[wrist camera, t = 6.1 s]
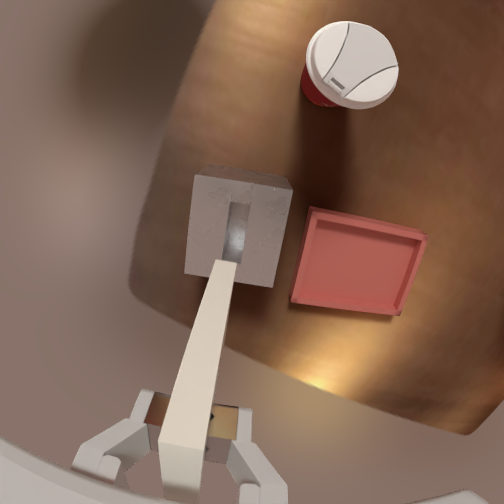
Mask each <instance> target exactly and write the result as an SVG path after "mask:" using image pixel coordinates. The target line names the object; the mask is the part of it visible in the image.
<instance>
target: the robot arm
mask: <svg viewBox="0 0 504 504" xmlns="http://www.w3.org/2000/svg"><path fill="white" fill-rule="evenodd" d="M170 399H171V395H167V394H163V393H158V392H154V391H150V390H147V389H142V390H141V392H140V394H139V396H138V399H137V401H136V403H135V406H134V409H133V411H132V413H131V416H130V418H129V419H124V420H122V421H120V422H119V423H117V424H115V425H114V426H112V427H110V428H109V429H107V430H105V431H104V432H102V433H100V434H99V435H97V436H95V437H93V438H92V439H90V440H88V441H87V442H85V443H83V444H81V446H80V448H79V450H78V453H77V455H76V457H75V459H74V461H73V464H72V466H71V468H70V469H68V468H65V467H63V466H61V465H58V464H56V463H54V462H52V461H49V460H47V459H45V458H43V457H41V456H39V455H37V454H35V453H33V452H31V451H29V450H27V449H25V448H23V447H21V446H19V445H17V444H16V443H14V442H12V441H10V440H8V439H6V438H5V437H3V436H1V435H0V504H185V503H180V502H175V501H171V500H166V499H161V498H157V497H153V496H149V495H145V494H141V493H137V492H134V491H130V490H129V485H128V482H127V479H126V476H125V473H124V472H125V471H127V470H128V469H129V468H130V467H131V466H133V465H134V464H135V463H137V462H138V461H139V460H140V459H141V458H143V457H144V456H145V455H146V454H147V453H148V452H150V450H154V451H158V452H159V447H158V439H159V435H160V432H161V429H162V425H163V422H164V419H165V415H166V412H167V409H168V405H169V402H170ZM252 414H253V411H252V409H249V408H241V407H239V408H238V407H235V406H228V405H221V404H214V403H213V405H212V411H211V418H210V423H209V429H208V435H207V443H206V451H205V459H204V460H205V461H210V462H216V463H222V464H226V466H227V468H228V470H229V472H230V473H231V475H232V477H233V479H234V480H235V482H236V484H237V486H238V488H239V491H238V494H237V497H236V499H235V502H234V504H288V493H287V485H286V483H285V482H284V481H283V479H282V478H281V477H280V476H279V474H278V473H277V472H276V470H275V469H274V468H273V466H272V465H271V464H270V463H269V461H268V460H267V458H266V457H265V456H264V455H263V453H262V452H261V450H260V449H259V448H258V447H257V445H256V444H255V443H251V439H252ZM405 504H489V503H488V502H487V501H485V500H484V499H483V498H481V497H480V496H478V495H477V494H475V493H474V492H472V491H470V490H468V489H462V490H458V491H454V492H451V493H447V494H444V495H441V496H436V497H432V498H428V499H424V500H419V501H415V502H410V503H405Z"/></svg>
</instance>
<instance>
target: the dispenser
mask: <svg viewBox="0 0 504 504" xmlns="http://www.w3.org/2000/svg"><path fill="white" fill-rule="evenodd" d="M292 193H293V190H292V188H291V186H290V184H289V182H288V180H287V178H286V176H281V175H275V174H269V173H264V172H258V171H252V170H246V169H239V168H233V167H226V166H220V165H213V164H209V165H208V166H207V167H205V168H204V169H202V170H201V171H199V172H198V173H196V174H195V178H194V185H193V194H192V202H191V211H190V220H189V229H188V239H187V250H186V261H185V272H184V273H186V274H192V275H198V276H203V277H209V278H210V275H211V272H212V269H213V266H214V263H215V260H222V261H228V262H234V263H237V265H236V271H235V278H234V282H239V283H246V284H252V285H258V286H264V287H271V288H273V283H274V279H275V274H276V270H277V265H278V260H279V256H280V251H281V246H282V241H283V237H284V232H285V227H286V222H287V217H288V212H289V207H290V203H291V198H292Z"/></svg>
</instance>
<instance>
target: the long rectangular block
mask: <svg viewBox="0 0 504 504" xmlns="http://www.w3.org/2000/svg"><path fill="white" fill-rule="evenodd" d="M236 265H237V263H234V262H228V261H222V260H215V263H214V266H213V269H212V272H211V275H210V278H209V281H208V284H207V287H206V290H205V293H204V295H203V298H202V301H201V304H200V308H199V311H198V314H197V317H196V320H195V323H194V326H193V329H192V332H191V335H190V338H189V341H188V344H187V347H186V351H185V354H184V357H183V360H182V363H181V367H180V370H179V373H178V376H177V379H176V382H175V386H174V389H173V392H172V395H171V399H170V402H169V405H168V409H167V412H166V415H165V419H164V422H163V425H162V429H161V432H160V435H159V439H158V447H159V457H160V466H161V475H162V482H163V490H164V498H165V499H166V500H171V501H175V502H180V503H185V504H198V502H199V495H200V489H201V482H202V475H203V469H204V463H205V460H204V459H205V451H206V443H207V435H208V429H209V423H210V418H211V411H212V405H213V403H214V400H215V395H216V389H217V382H218V377H219V371H220V365H221V359H222V352H223V347H224V341H225V335H226V329H227V322H228V316H229V309H230V303H231V297H232V290H233V284H234V278H235V271H236Z"/></svg>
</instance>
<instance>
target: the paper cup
mask: <svg viewBox="0 0 504 504" xmlns="http://www.w3.org/2000/svg"><path fill="white" fill-rule="evenodd" d="M397 77H398V64H397V60H396V57H395V54H394V51H393V49H392V47H391V45H390V43H389V41H388V40H387V39H386V38H385V37H384V36H383V35H382V34H381V33H380V32H379V31H377V30H376V29H374V28H372V27H370V26H367V25H363V24H359V23H355V22H348V21H342V22H335V23H332V24H329V25H326V26H325V27H323V28H321V29H320V30H319V31H318V32H317V33H316V34H315V35H314V36H313V37H312V39H311V41H310V43H309V45H308V48H307V53H306V64H305V67H304V69H303V72H302V76H301V88H302V91H303V93H304V95H305V96H306V97H307V98H308V99H309V100H310V101H311V102H313V103H314V104H317V105H319V106H325V107H335V106H344V107H347V108H352V109H367V108H371V107H374V106H376V105H379V104H380V103H382V102H383V101H385V100H386V99H387V98H388V97H389V96H390V94H391V93H392V91H393V90H394V87H395V85H396V82H397Z"/></svg>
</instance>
